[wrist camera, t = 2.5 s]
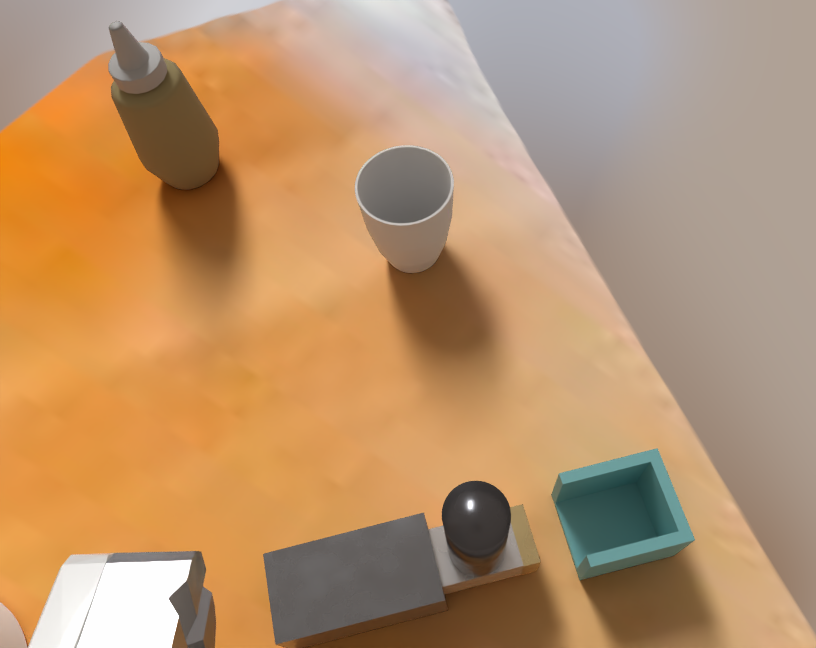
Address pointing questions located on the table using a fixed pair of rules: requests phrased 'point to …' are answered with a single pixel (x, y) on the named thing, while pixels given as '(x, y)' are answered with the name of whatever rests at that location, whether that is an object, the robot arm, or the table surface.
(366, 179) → the cup
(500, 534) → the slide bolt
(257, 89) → the table surface
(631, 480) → the socket
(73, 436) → the table surface
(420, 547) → the sleeve
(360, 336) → the table surface
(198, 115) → the squeeze bottle
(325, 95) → the table surface
